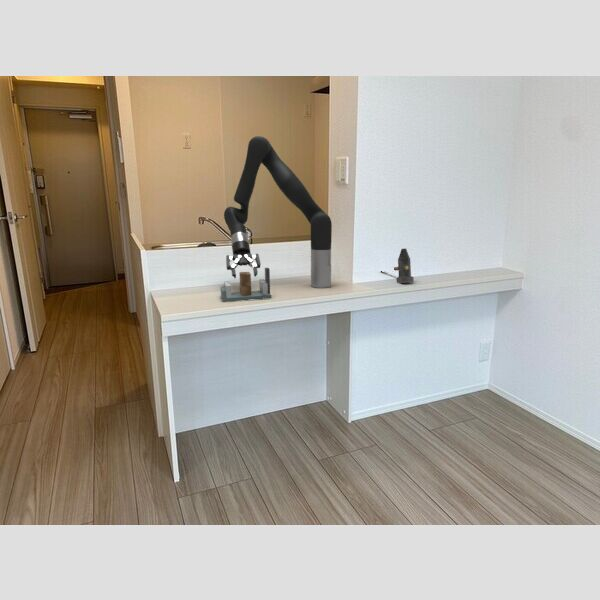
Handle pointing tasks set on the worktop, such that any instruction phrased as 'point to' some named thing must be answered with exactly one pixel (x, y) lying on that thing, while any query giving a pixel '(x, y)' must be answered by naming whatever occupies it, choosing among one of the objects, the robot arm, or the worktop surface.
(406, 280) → the dark tapered tower
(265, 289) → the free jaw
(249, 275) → the block
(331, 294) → the worktop surface
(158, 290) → the worktop surface
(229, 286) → the vise
